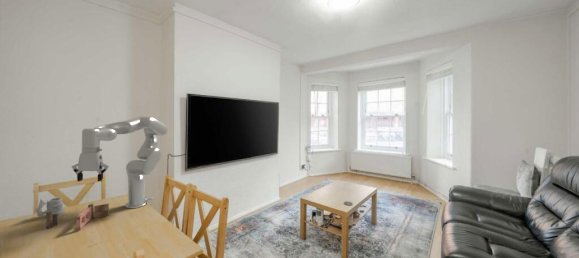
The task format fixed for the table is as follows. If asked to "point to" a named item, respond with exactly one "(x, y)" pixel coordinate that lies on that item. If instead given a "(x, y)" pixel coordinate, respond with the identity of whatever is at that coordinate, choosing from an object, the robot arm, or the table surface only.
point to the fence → (96, 213)
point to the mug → (51, 207)
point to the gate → (85, 220)
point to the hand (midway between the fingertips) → (90, 180)
